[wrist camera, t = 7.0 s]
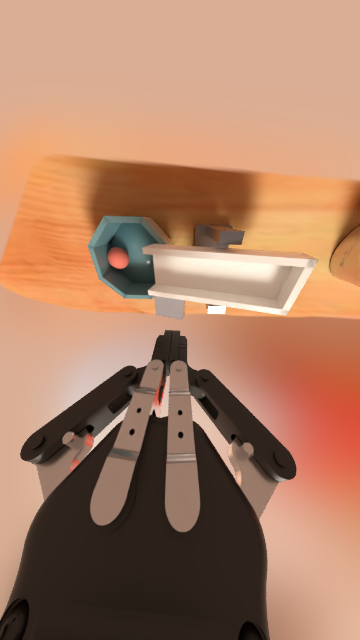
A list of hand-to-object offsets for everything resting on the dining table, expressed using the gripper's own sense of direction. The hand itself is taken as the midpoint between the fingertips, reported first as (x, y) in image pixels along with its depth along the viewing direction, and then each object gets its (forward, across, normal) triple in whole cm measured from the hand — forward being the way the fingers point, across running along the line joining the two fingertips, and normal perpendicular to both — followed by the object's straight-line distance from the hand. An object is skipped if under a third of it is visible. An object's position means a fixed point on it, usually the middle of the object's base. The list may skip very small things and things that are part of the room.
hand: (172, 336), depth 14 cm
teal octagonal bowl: (+14, +6, -5) cm, 16 cm away
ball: (+12, +9, -5) cm, 16 cm away
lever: (+9, -5, -3) cm, 11 cm away
